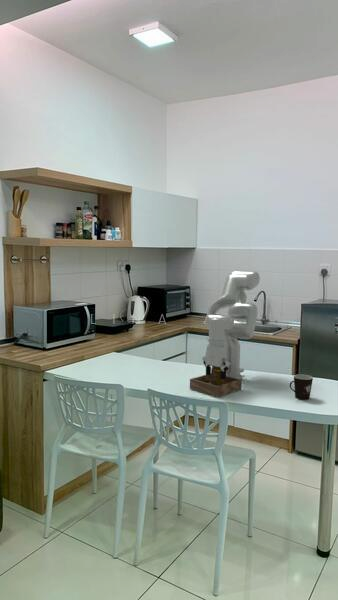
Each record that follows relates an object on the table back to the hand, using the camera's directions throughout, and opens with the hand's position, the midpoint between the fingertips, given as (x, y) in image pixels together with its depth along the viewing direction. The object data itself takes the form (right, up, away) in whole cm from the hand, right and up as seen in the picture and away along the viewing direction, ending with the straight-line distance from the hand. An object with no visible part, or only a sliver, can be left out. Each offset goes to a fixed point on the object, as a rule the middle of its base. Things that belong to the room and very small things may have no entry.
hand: (215, 376), depth 225 cm
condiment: (0, -6, +1) cm, 6 cm away
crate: (0, -6, +1) cm, 6 cm away
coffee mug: (+38, -8, -11) cm, 40 cm away
